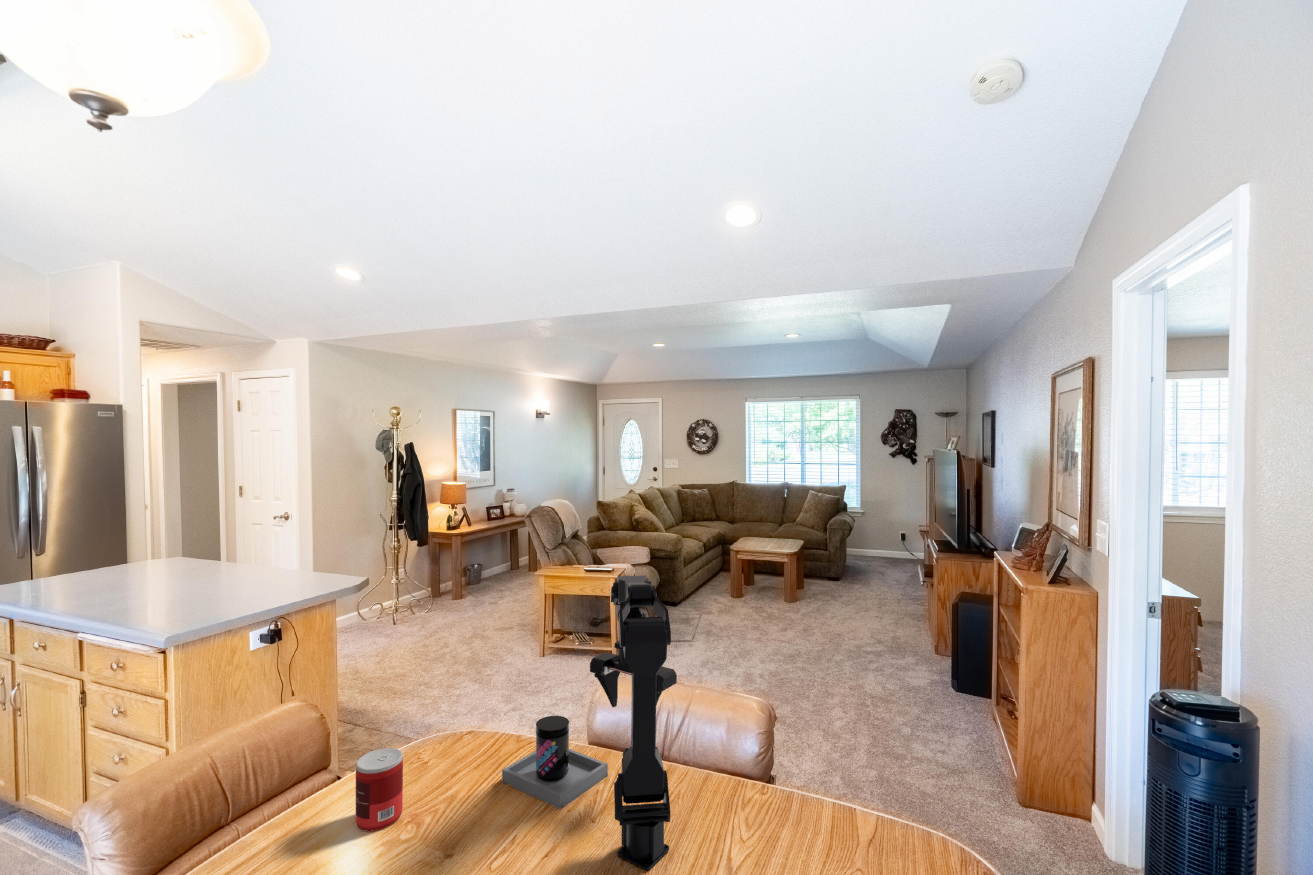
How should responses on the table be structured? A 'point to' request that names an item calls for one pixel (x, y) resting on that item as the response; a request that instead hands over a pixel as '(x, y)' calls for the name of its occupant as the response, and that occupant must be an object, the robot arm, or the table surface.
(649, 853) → the robot arm
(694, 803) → the table surface
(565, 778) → the tray
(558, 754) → the supplement container
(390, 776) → the canned food
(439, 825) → the table surface
